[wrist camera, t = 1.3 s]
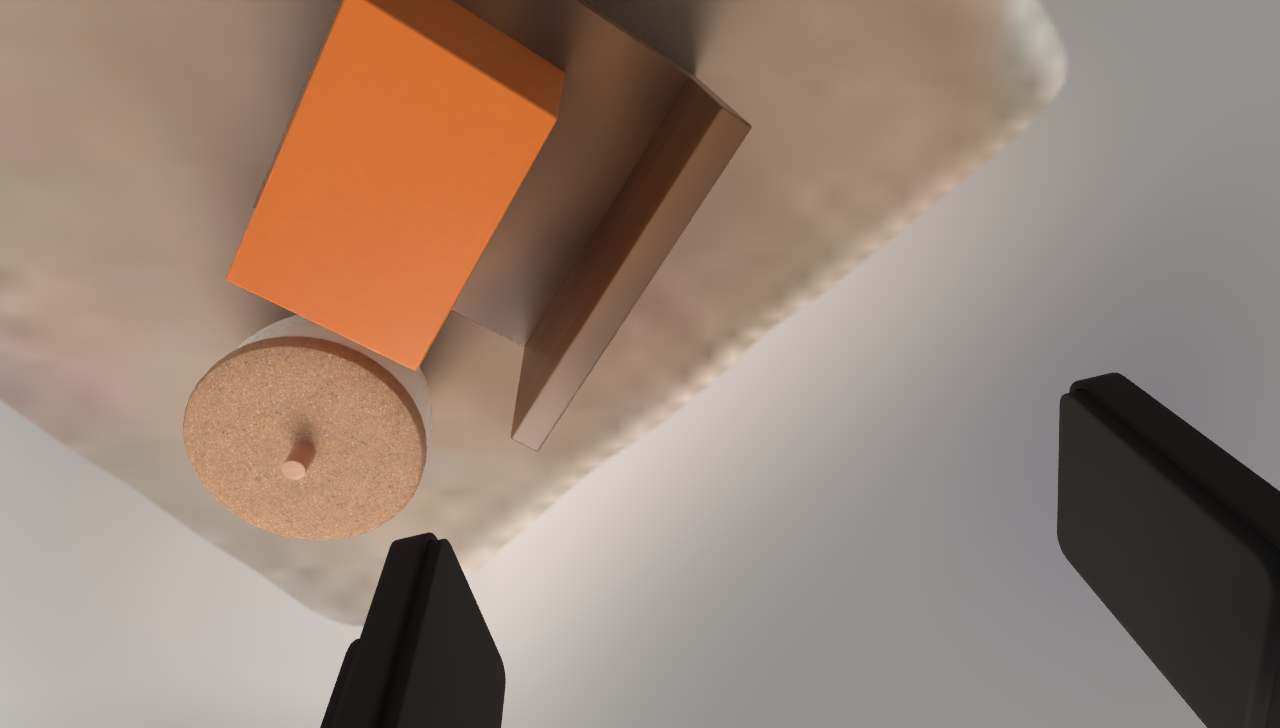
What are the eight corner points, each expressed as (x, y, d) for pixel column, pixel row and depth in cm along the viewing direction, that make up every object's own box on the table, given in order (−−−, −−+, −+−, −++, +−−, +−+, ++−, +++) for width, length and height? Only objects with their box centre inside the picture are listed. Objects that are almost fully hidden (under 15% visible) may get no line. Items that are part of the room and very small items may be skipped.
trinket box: (206, 324, 41) (109, 414, 32) (389, 251, 40) (338, 325, 31) (315, 479, 46) (255, 592, 37) (481, 418, 44) (458, 520, 36)
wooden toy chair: (299, 175, 38) (158, 273, 25) (423, -109, 33) (326, -160, 20) (551, 310, 42) (537, 452, 29) (695, 75, 37) (753, 126, 24)
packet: (332, 187, 32) (223, 280, 22) (427, -17, 29) (347, -13, 19) (464, 258, 34) (416, 372, 24) (566, 72, 31) (558, 117, 21)
